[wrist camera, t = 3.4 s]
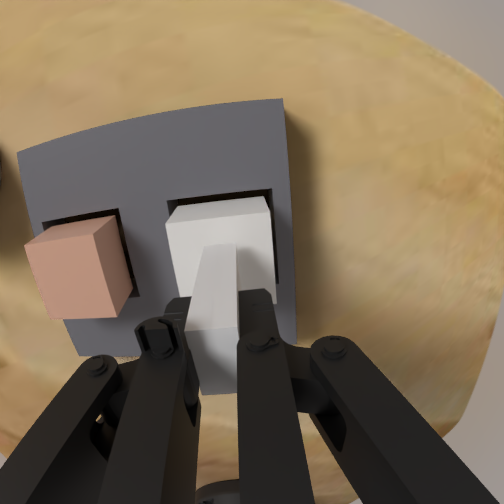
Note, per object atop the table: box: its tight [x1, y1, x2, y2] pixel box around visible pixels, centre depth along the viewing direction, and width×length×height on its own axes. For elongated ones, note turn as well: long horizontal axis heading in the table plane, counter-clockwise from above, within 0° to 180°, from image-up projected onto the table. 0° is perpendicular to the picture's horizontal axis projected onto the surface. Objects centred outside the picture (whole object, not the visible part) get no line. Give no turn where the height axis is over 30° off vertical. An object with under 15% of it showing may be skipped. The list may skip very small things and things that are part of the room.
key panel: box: [17, 98, 297, 357], centre depth 20 cm, size 16×17×3 cm
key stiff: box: [24, 215, 133, 319], centre depth 17 cm, size 5×5×4 cm
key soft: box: [165, 196, 277, 304], centre depth 17 cm, size 5×5×4 cm
